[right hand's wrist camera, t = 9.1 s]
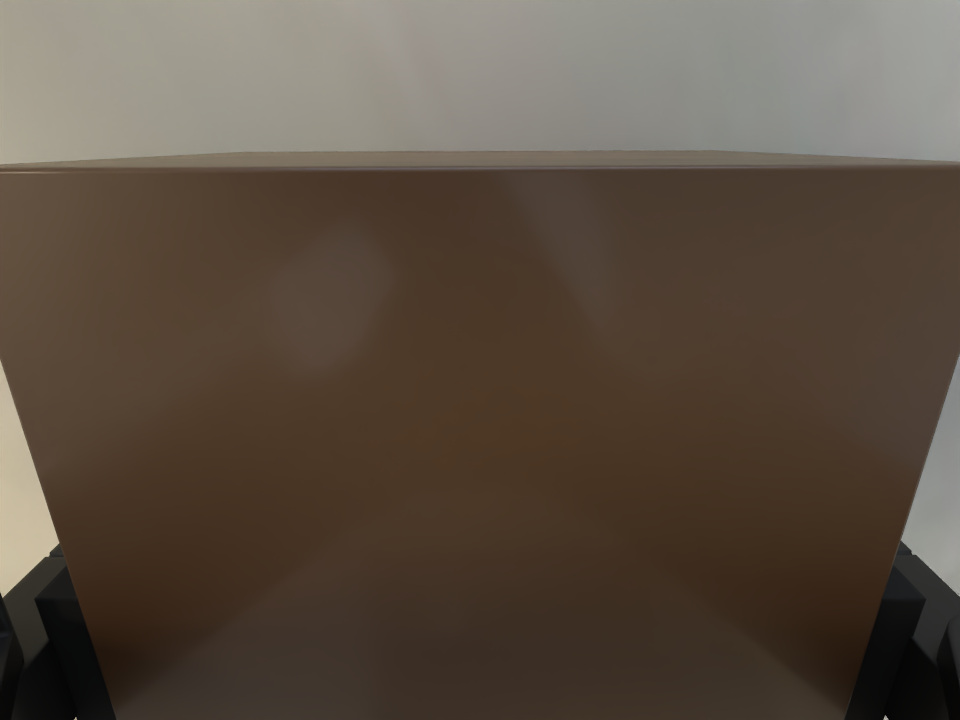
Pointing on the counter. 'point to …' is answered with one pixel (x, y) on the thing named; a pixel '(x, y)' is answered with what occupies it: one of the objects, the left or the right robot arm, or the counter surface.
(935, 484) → the counter surface
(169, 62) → the counter surface
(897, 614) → the right robot arm
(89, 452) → the thick board
